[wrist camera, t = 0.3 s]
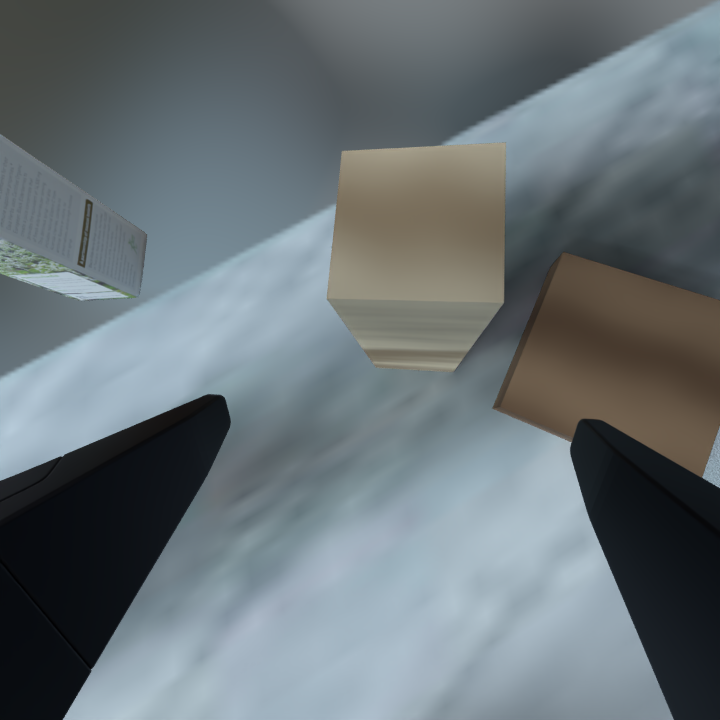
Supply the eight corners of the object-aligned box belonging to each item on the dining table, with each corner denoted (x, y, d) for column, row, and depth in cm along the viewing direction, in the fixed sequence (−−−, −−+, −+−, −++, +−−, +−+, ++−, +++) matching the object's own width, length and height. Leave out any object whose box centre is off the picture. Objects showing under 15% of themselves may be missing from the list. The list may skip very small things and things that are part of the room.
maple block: (453, 372, 22) (503, 302, 9) (376, 367, 23) (326, 298, 10) (456, 298, 23) (506, 142, 10) (381, 296, 24) (342, 151, 11)
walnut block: (662, 482, 19) (697, 490, 17) (490, 408, 22) (500, 407, 19) (717, 325, 20) (758, 312, 18) (547, 270, 23) (563, 251, 20)
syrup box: (149, 232, 28) (-125, 36, 14) (141, 301, 27) (-166, 166, 13) (89, 238, 29) (-227, 60, 15) (78, 305, 28) (-274, 183, 14)
